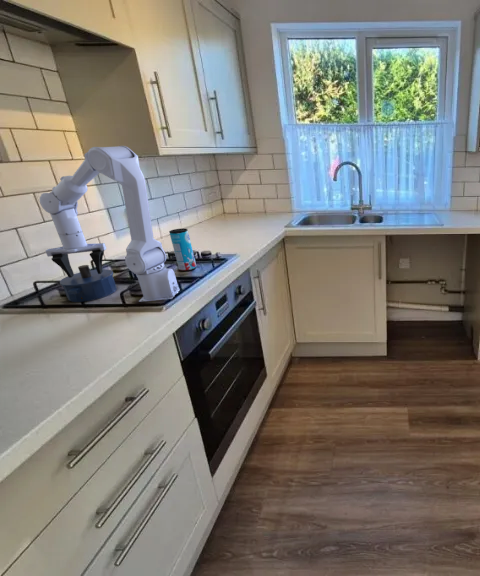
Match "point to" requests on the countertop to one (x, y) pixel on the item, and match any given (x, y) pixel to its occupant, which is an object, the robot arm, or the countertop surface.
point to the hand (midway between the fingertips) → (86, 274)
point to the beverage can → (183, 249)
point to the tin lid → (86, 277)
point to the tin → (91, 290)
